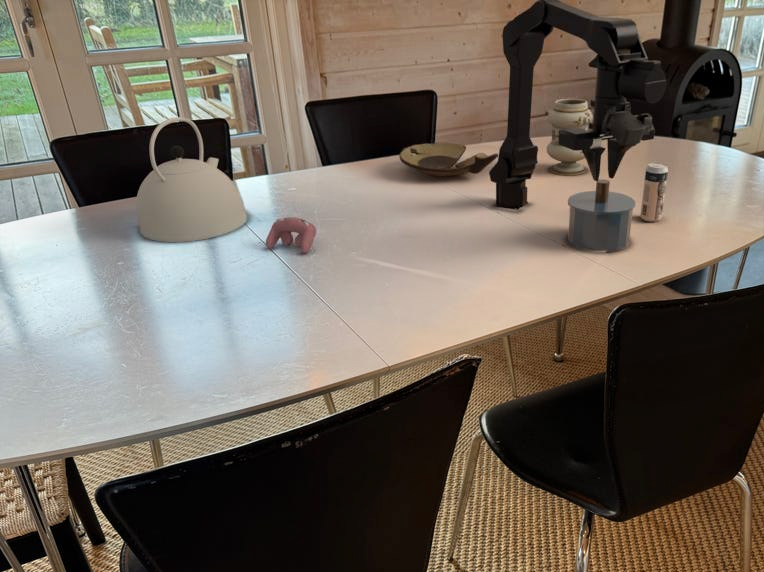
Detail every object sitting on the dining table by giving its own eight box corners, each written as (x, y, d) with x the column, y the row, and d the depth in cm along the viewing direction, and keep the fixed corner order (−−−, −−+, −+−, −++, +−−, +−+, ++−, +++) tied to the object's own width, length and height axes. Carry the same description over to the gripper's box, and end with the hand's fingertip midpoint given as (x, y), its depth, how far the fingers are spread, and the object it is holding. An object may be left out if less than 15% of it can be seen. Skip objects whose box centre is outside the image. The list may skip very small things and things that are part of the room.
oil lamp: (454, 156, 196) (453, 129, 192) (511, 180, 175) (512, 151, 171) (385, 168, 186) (383, 140, 182) (437, 196, 165) (436, 164, 161)
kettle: (184, 201, 163) (160, 104, 151) (269, 206, 159) (251, 107, 147) (117, 238, 143) (83, 129, 131) (213, 245, 138) (187, 133, 127)
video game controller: (317, 255, 137) (320, 221, 136) (304, 253, 133) (308, 218, 132) (276, 249, 140) (279, 216, 139) (262, 247, 136) (266, 213, 135)
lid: (557, 211, 132) (558, 186, 129) (581, 192, 142) (583, 168, 139) (622, 222, 127) (625, 195, 124) (642, 201, 137) (646, 176, 134)
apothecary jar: (546, 163, 188) (549, 96, 179) (589, 164, 187) (595, 97, 178) (544, 175, 178) (547, 105, 169) (589, 177, 177) (595, 106, 167)
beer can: (661, 223, 147) (669, 169, 140) (639, 222, 148) (646, 167, 141) (661, 216, 151) (668, 162, 144) (639, 214, 152) (646, 161, 145)
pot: (558, 246, 136) (560, 208, 132) (580, 227, 145) (583, 191, 141) (617, 257, 131) (621, 218, 127) (635, 236, 140) (640, 199, 136)
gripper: (594, 108, 113) (587, 198, 122) (679, 97, 121) (667, 183, 129) (559, 97, 122) (555, 182, 130) (640, 88, 129) (631, 169, 137)
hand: (603, 179), depth 131 cm, fingers open, 3 cm apart
